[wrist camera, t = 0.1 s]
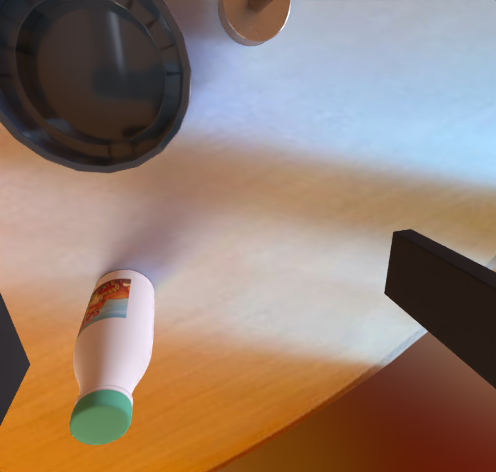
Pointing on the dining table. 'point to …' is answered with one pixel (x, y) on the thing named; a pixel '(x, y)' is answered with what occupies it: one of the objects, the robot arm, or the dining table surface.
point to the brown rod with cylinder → (253, 19)
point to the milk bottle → (112, 355)
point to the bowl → (92, 80)
